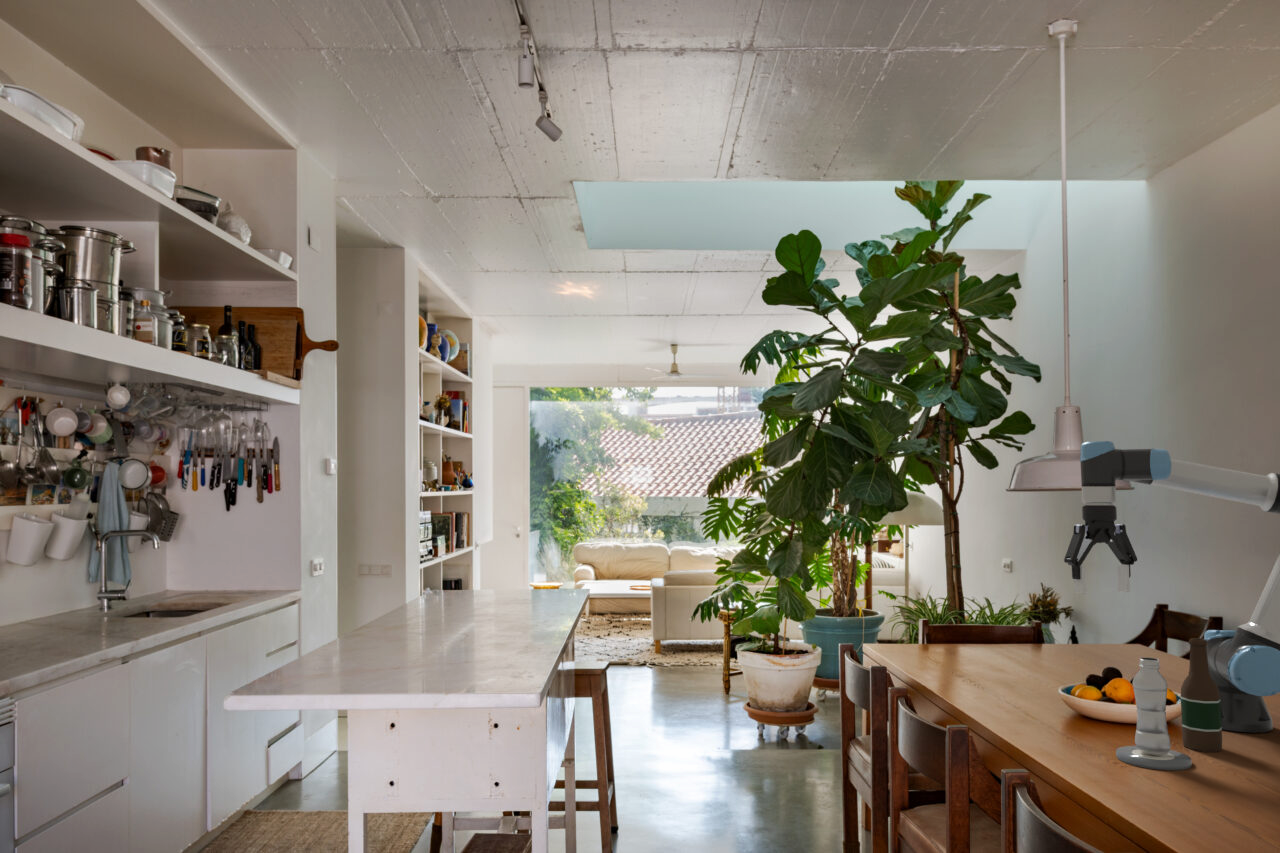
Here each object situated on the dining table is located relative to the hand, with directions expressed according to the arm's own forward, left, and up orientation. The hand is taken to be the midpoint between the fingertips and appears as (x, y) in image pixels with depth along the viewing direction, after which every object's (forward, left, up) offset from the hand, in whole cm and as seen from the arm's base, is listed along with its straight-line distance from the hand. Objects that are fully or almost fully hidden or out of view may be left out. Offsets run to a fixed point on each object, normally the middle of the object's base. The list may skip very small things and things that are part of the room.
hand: (1102, 592), depth 224 cm
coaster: (-6, +25, -33) cm, 42 cm away
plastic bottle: (-6, +25, -32) cm, 41 cm away
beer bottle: (-18, +10, -33) cm, 39 cm away
